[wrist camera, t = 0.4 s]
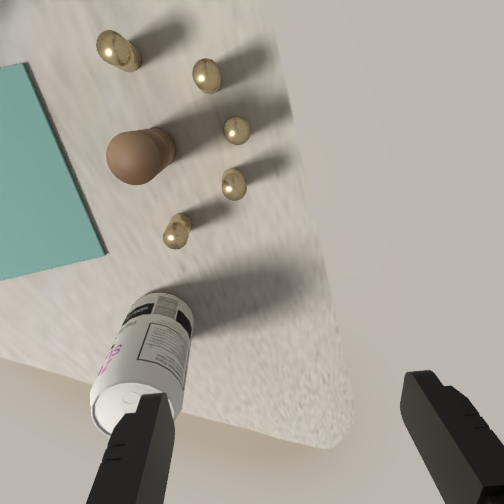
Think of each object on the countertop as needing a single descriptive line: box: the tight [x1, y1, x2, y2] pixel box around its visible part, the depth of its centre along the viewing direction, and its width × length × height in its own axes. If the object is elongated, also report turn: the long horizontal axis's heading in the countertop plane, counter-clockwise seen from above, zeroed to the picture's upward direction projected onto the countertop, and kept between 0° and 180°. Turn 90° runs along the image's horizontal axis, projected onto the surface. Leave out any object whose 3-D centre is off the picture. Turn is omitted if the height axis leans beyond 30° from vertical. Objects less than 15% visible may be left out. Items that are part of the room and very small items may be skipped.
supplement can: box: [90, 293, 194, 437], centre depth 36 cm, size 8×8×15 cm
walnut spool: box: [106, 128, 176, 185], centre depth 30 cm, size 4×4×10 cm
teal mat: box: [0, 63, 106, 281], centre depth 35 cm, size 20×13×1 cm, turn 13°
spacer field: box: [96, 30, 251, 249], centre depth 33 cm, size 19×11×5 cm, turn 13°
